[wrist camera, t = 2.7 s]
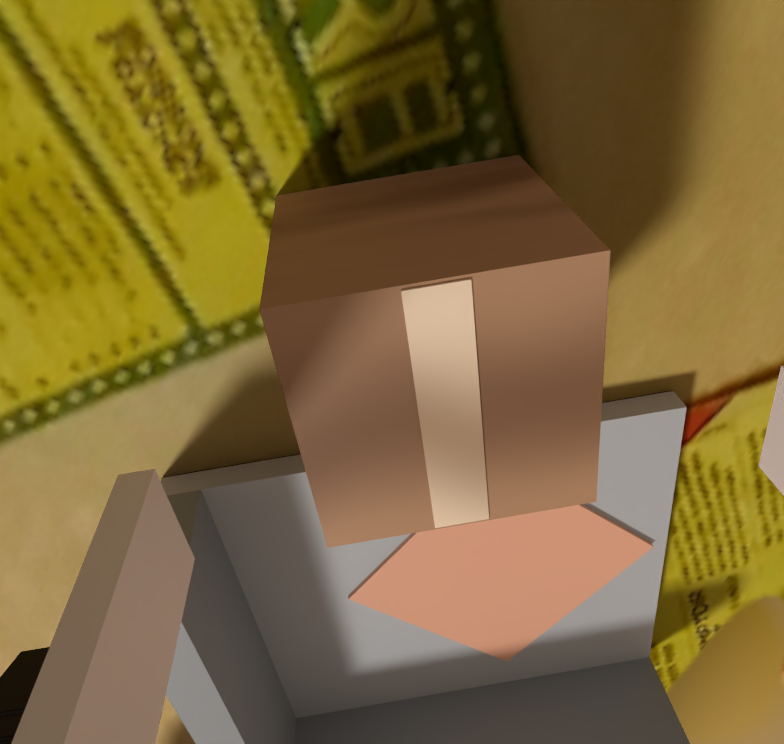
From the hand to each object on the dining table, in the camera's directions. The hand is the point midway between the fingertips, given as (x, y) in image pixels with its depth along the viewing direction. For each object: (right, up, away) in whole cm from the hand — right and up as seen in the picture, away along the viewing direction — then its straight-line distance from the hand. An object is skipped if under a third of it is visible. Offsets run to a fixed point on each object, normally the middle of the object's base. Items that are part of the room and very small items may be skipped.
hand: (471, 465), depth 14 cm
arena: (0, -7, +15) cm, 16 cm away
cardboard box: (-1, +5, +7) cm, 8 cm away
